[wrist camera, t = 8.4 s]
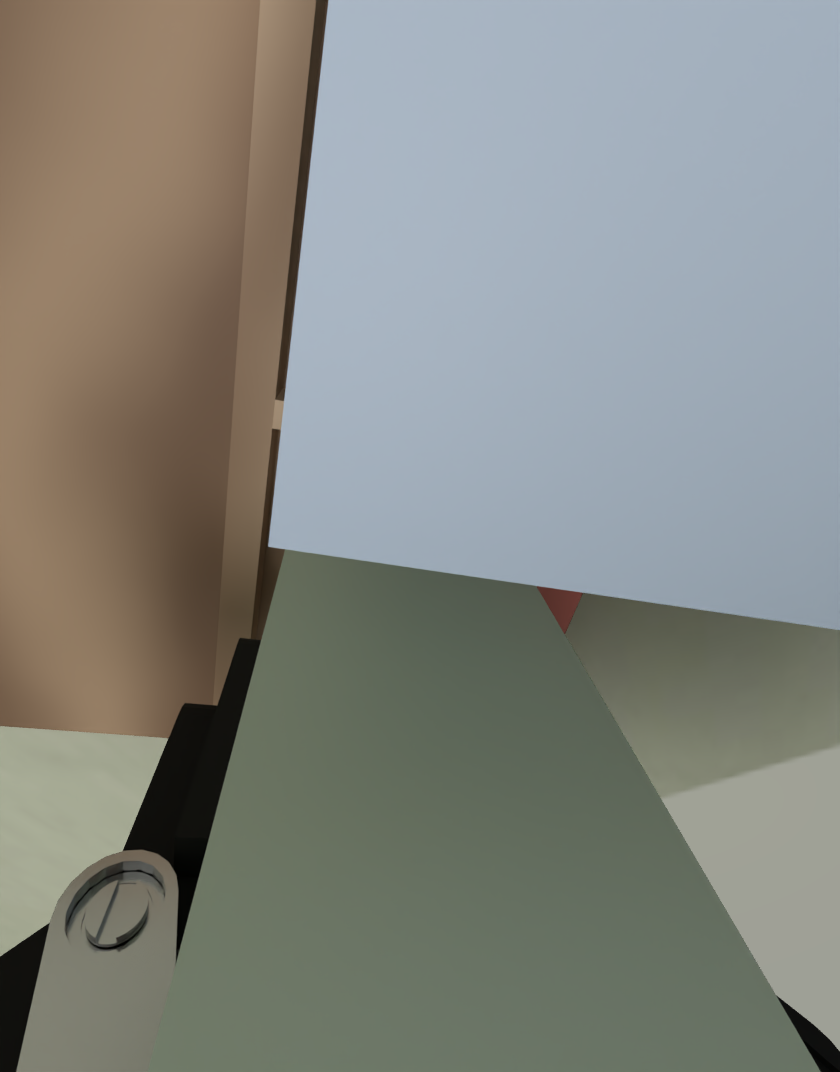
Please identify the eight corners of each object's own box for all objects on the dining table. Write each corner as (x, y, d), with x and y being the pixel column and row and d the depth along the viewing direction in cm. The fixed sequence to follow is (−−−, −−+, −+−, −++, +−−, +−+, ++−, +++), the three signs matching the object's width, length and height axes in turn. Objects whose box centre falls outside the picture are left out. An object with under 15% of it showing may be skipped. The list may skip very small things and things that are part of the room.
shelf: (800, -136, 9) (968, -294, 6) (469, 740, 18) (486, 814, 16) (-454, -762, 6) (-1099, -1586, 3) (-75, 698, 15) (-161, 781, 12)
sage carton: (517, 543, 11) (966, 1283, 3) (434, 779, 14) (538, 1445, 6) (296, 507, 10) (45, 1462, 2) (261, 769, 13) (111, 1541, 5)
